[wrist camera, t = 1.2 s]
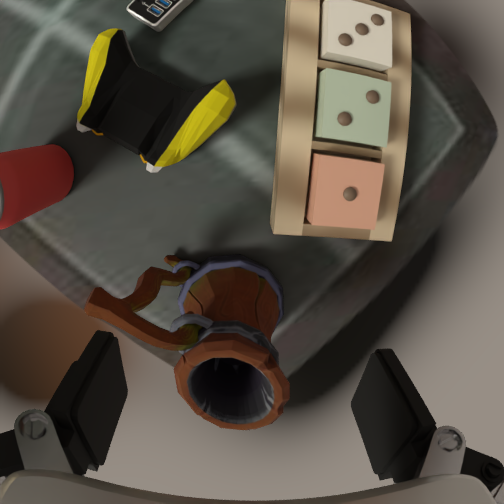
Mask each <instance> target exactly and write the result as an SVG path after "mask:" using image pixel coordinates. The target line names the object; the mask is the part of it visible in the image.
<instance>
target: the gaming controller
mask: <svg viewBox="0 0 504 504" xmlns="http://www.w3.org/2000/svg"><path fill="white" fill-rule="evenodd" d="M236 106H237V104H236V99H235V94H234V92H233V91H232V89H231V87H230V86H229V85H228V83H227V82H226V80H221V81H218V82H215V83H212V84H209V85H207V86H204V87H202V88H200V89H198V90H196V91H185V90H183V89H181V88H179V87H177V86H175V85H173V84H171V83H169V82H167V81H166V80H164V79H162V78H160V77H158V76H156V75H154V74H152V73H150V72H148V71H146V70H144V69H142V68H140V67H139V66H138V64H137V63H136V61H135V59H134V56H133V54H132V51H131V48H130V46H129V43H128V40H127V37H126V34H125V32H124V31H123V30H122V29H108V30H106V31H104V32H102V33H100V34H99V35H98V37H97V39H96V41H95V42H94V44H93V46H92V48H91V51H90V56H89V61H88V67H87V73H86V79H85V85H84V92H83V100H82V106H81V107H80V109H79V111H78V115H77V118H78V119H77V125H76V126H77V130H79V131H81V132H85V131H89V130H92V131H93V132H94V133H95V134H96V135H105V136H106V137H108V138H110V139H112V140H113V141H115V142H117V143H119V144H120V145H122V146H124V147H126V148H127V149H129V150H131V151H132V152H134V153H136V154H138V155H140V157H141V159H142V161H143V162H144V163H147V169H146V170H148V171H149V172H158V171H159V170H160V169H161V168H162V167H164V166H169V165H172V164H175V163H177V162H179V161H180V160H182V159H184V158H185V157H187V156H188V155H189V154H190V153H192V152H193V151H194V150H196V149H197V148H198V147H199V146H201V145H202V144H203V143H204V142H205V141H206V140H207V139H208V138H210V137H211V136H212V135H213V134H214V133H215V132H216V131H217V130H218V129H219V128H220V127H221V126H222V125H223V124H225V123H226V122H227V121H228V119H229V118H230V116H231V114H232V112H233V111H234V109H235V107H236Z"/></svg>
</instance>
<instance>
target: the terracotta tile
mask: <svg viewBox="0 0 504 504" xmlns="http://www.w3.org/2000/svg"><path fill="white" fill-rule="evenodd" d="M384 167H385V164H382V163H378V162H374V161H368V160H362V159H355V158H348V157H341V156H333V155H326V154H317V153H313V156H312V167H311V177H310V186H309V195H308V204H307V213H306V218H307V219H308V221H309V222H310V223H311V225H317V226H331V227H345V228H358V229H370V230H375V226H376V220H377V214H378V208H379V202H380V196H381V189H382V182H383V175H384Z"/></svg>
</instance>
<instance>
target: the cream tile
mask: <svg viewBox="0 0 504 504" xmlns="http://www.w3.org/2000/svg"><path fill="white" fill-rule="evenodd" d="M320 59H326V60H331V61H336V62H341V63H346V64H351V65H355V66H360V67H364V68H368V69H372V70H376V71H383V70H386V69H389V68H391V67H392V16H391V12H390V11H387V10H384V9H381V8H378V7H375V6H371V5H368V4H364V3H361V2H357V1H353V0H325V1H324V2H323V3H322V9H321V40H320Z"/></svg>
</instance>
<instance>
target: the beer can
mask: <svg viewBox="0 0 504 504" xmlns="http://www.w3.org/2000/svg"><path fill="white" fill-rule="evenodd" d="M73 178H74V167H73V164H72V161H71V158H70V156H69V155H68V153H67V152H66V151H65V150H64V149H63V148H61V147H60V146H58V145H54V144H50V145H42V146H36V147H30V148H24V149H18V150H13V151H7V152H2V153H0V229H5V228H7V227H9V226H11V225H13V224H15V223H17V222H19V221H20V220H22V219H24V218H26V217H28V216H30V215H32V214H34V213H36V212H38V211H40V210H42V209H44V208H46V207H48V206H50V205H52V204H54V203H56V202H59V201H61V200H62V199H63V198H64V197H65V196H66V195H67V194H68V193H69V191H70V189H71V187H72V183H73Z"/></svg>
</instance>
